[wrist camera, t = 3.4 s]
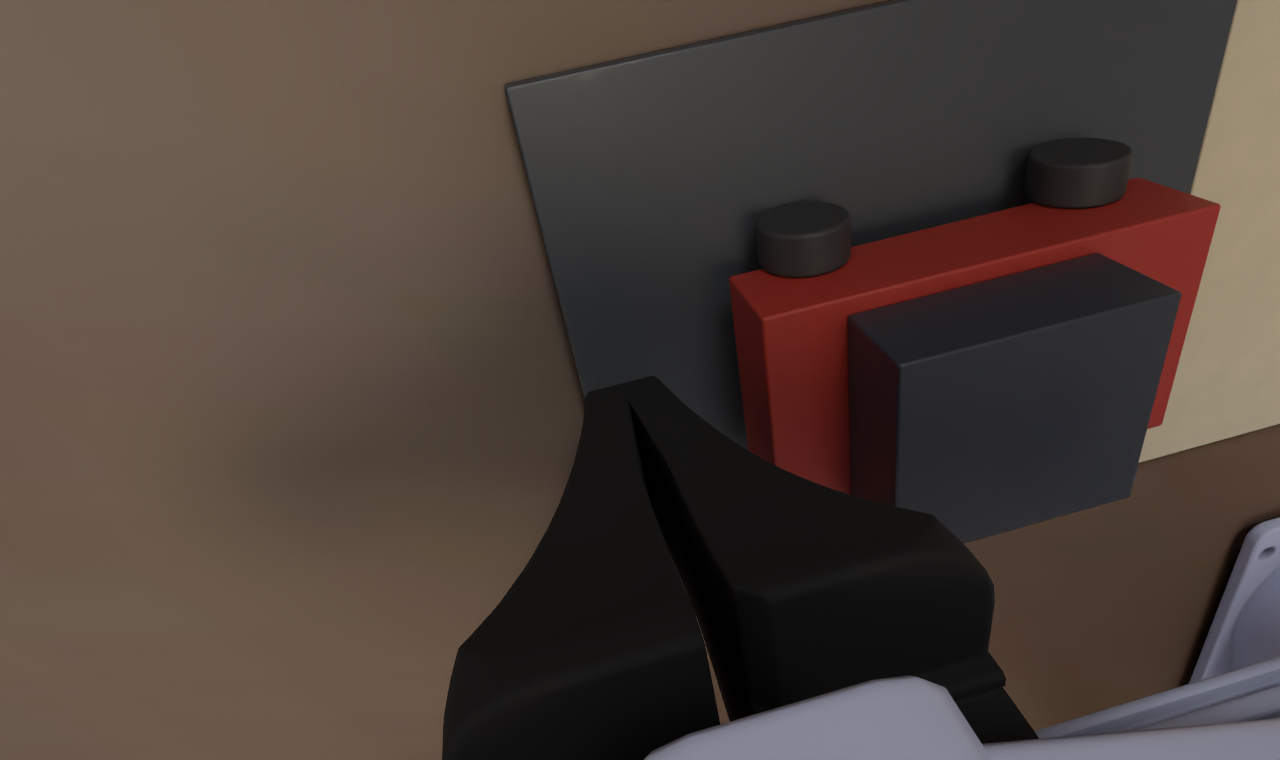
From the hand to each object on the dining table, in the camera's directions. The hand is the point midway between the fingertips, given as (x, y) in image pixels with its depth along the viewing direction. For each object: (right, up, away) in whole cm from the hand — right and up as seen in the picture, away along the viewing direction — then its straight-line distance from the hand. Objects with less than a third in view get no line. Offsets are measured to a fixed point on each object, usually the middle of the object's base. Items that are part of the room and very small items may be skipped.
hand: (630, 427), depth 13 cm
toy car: (+6, +2, +1) cm, 6 cm away
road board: (+11, +4, +2) cm, 11 cm away
